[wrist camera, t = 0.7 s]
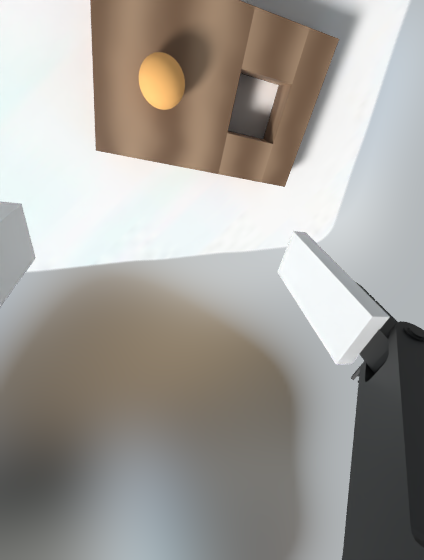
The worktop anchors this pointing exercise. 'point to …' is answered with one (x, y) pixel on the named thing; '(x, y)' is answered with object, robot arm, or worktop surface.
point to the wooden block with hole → (205, 83)
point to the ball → (161, 80)
